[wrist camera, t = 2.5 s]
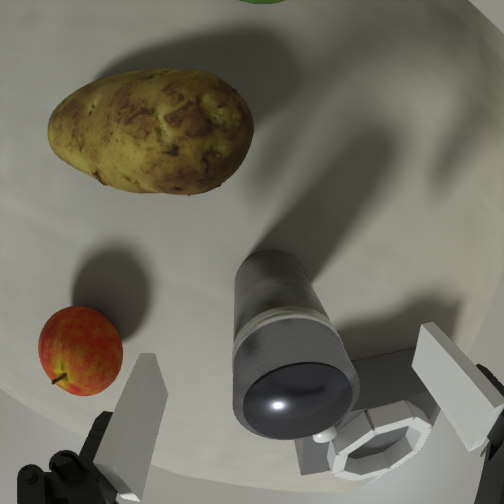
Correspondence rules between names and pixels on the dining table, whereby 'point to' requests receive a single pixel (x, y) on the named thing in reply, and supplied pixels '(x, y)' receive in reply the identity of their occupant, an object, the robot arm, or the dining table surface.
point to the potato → (154, 131)
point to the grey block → (375, 422)
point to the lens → (286, 353)
